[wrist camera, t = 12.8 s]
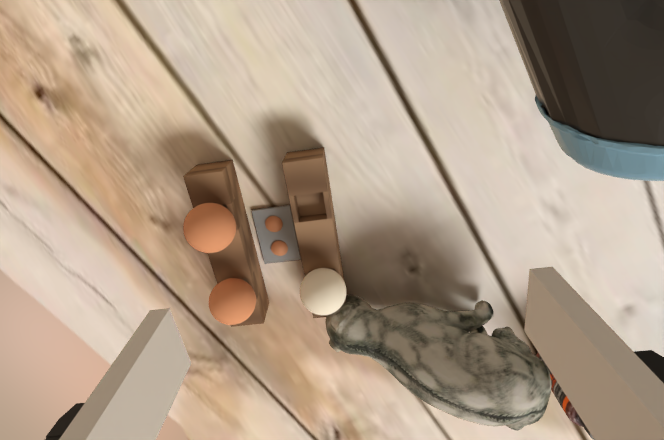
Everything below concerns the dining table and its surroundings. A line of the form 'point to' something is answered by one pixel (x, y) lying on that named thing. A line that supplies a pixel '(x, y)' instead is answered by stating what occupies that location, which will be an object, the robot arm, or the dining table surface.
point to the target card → (276, 234)
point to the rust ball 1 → (209, 227)
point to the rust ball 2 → (232, 301)
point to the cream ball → (323, 291)
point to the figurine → (448, 359)
